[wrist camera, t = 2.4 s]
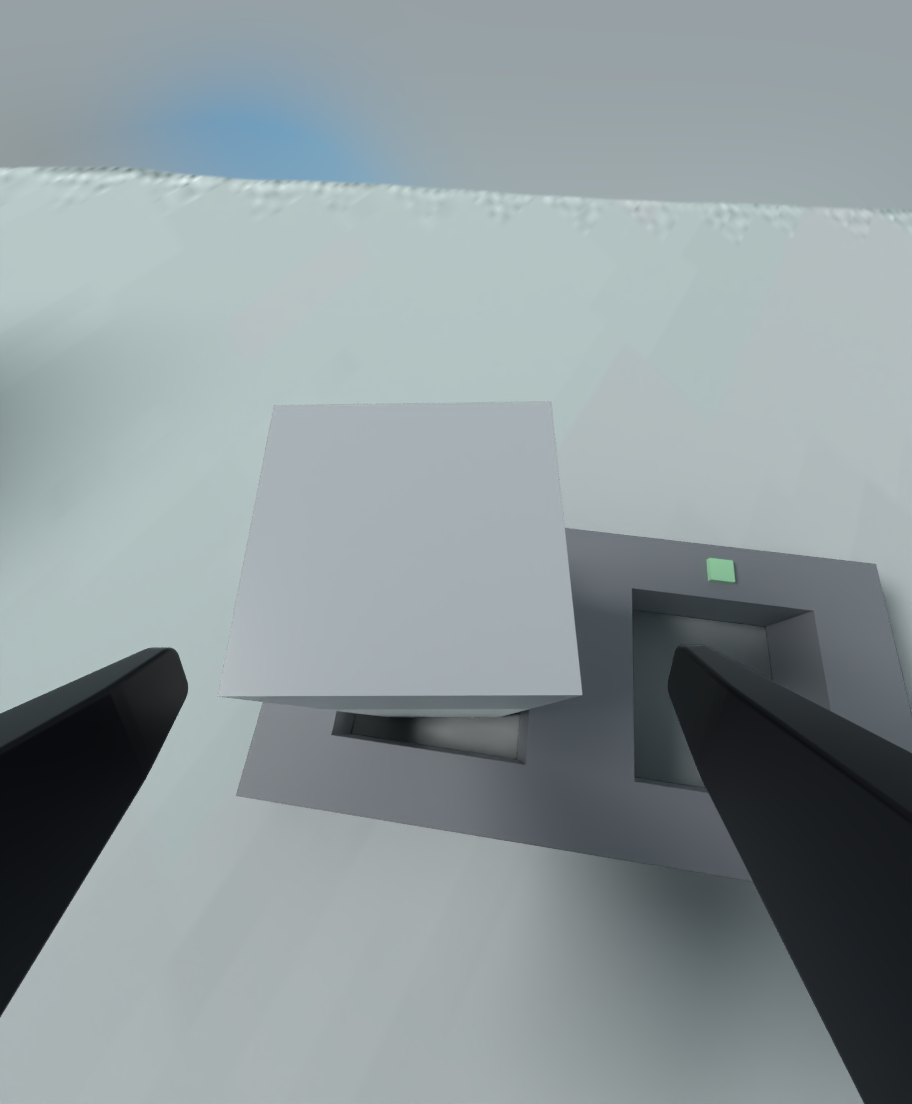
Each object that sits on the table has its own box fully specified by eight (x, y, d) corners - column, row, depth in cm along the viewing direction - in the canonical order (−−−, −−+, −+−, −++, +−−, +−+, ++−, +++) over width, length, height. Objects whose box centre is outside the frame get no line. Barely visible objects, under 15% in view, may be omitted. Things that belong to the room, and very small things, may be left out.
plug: (498, 717, 16) (582, 694, 5) (390, 717, 16) (217, 696, 5) (494, 591, 18) (546, 359, 6) (396, 591, 18) (281, 363, 7)
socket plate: (875, 883, 14) (967, 918, 11) (270, 785, 15) (232, 796, 13) (821, 585, 17) (880, 562, 15) (338, 527, 19) (319, 497, 16)
